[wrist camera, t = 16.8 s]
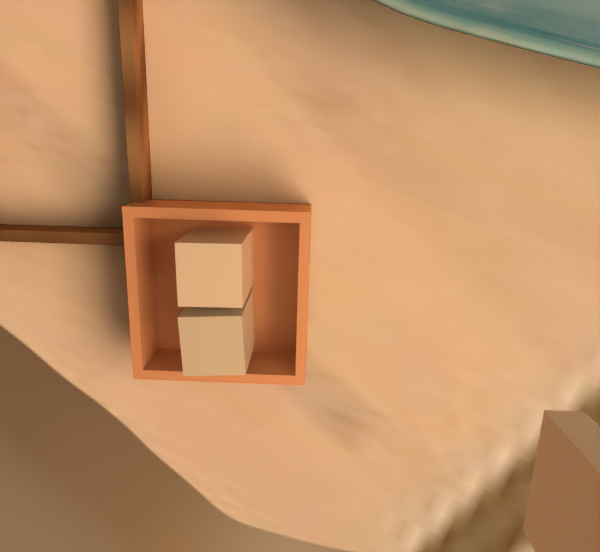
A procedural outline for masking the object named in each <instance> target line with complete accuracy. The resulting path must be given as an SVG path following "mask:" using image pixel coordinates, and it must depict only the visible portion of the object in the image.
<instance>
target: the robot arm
mask: <svg viewBox="0 0 600 552" xmlns="http://www.w3.org/2000/svg"><path fill="white" fill-rule="evenodd" d="M523 530H524V532H525V534H526V536H527V538H528V539H529V541H530V543H531V545H532V547H533V548H534V550H535V552H600V426H599V425H598V424H597V423H596V422H595V421H594V420H593V419H592V418H590V417H589V416H588V415H587V414H586V413H585V412H577V411H550V410H544V415H543V421H542V426H541V432H540V438H539V443H538V449H537V454H536V460H535V466H534V471H533V477H532V482H531V488H530V494H529V499H528V505H527V510H526V516H525V522H524V527H523Z"/></svg>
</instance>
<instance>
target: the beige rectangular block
mask: <svg viewBox="0 0 600 552" xmlns="http://www.w3.org/2000/svg"><path fill="white" fill-rule="evenodd" d="M178 327H179V337H180V347H181V357H182V367H183V376H219V375H246V372H247V368H248V365H249V361H250V358H251V354H252V351H253V347H254V344H255V341H256V331H255V314H254V297H253V288H252V289H250V292H249V294H248V296H247V299H246V301H245V303H244V306H243V308H222V307H185V308H184V310H183V311H182V312H181V313H180V315H179V316H178Z"/></svg>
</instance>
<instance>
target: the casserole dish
mask: <svg viewBox="0 0 600 552" xmlns="http://www.w3.org/2000/svg"><path fill="white" fill-rule="evenodd" d="M373 1H375V2H377V3H379V4H381V5H384V6H386V7H388V8H390V9H392V10H394V11H397V12H399V13H401V14H404V15H407V16H410V17H413V18H415V19H418V20H421V21H424V22H427V23H430V24H433V25H437V26H440V27H443V28H447V29H450V30H453V31H457V32H461V33H465V34H468V35H472V36H476V37H480V38H483V39H487V40H491V41H495V42H498V43H502V44H506V45H510V46H514V47H518V48H522V49H526V50H530V51H534V52H538V53H542V54H546V55H550V56H553V57H557V58H561V59H565V60H569V61H573V62H577V63H581V64H585V65H589V66H593V67H597V68H600V0H373Z"/></svg>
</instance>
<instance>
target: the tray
mask: <svg viewBox="0 0 600 552" xmlns="http://www.w3.org/2000/svg"><path fill="white" fill-rule="evenodd" d="M118 12H119V29H120V45H121V61H122V77H123V93H124V110H125V126H126V142H127V158H128V175H129V191H130V204H131V203H134V202H140V203H142V202H145V201H148V200H151V199H152V185H151V165H150V145H149V125H148V105H147V84H146V64H145V44H144V24H143V4H142V0H118ZM0 241H10V242H41V243H71V244H101V245H124V233H123V228H98V227H68V226H37V225H6V224H0Z"/></svg>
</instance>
